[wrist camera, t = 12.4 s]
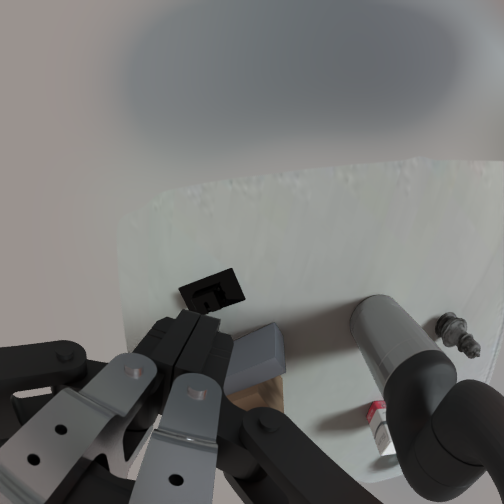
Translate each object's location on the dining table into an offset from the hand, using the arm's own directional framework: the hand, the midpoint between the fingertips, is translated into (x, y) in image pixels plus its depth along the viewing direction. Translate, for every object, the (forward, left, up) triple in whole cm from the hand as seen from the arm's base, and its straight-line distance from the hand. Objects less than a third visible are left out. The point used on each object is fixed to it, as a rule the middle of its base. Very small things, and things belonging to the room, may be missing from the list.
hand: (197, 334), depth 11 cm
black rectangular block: (+3, +12, -33) cm, 35 cm away
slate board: (-2, +22, -32) cm, 39 cm away
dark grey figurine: (-40, +8, -32) cm, 52 cm away
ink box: (-37, +29, -32) cm, 57 cm away
